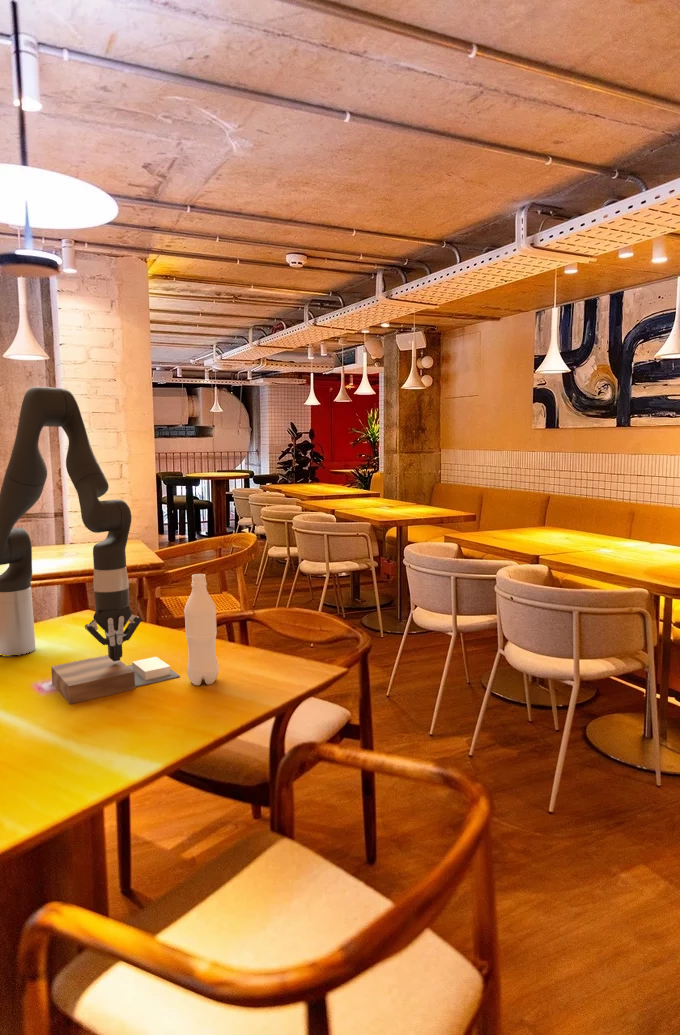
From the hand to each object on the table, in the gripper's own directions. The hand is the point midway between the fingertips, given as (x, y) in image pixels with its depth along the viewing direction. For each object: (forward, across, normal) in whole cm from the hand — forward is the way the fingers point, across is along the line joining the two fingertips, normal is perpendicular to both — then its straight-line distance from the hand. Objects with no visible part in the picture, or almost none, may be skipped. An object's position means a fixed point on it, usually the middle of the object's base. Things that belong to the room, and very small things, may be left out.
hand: (115, 659), depth 154 cm
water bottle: (+5, -15, +14) cm, 21 cm away
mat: (+5, -7, 0) cm, 9 cm away
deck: (+5, +6, 0) cm, 7 cm away
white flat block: (+3, -8, +1) cm, 9 cm away
